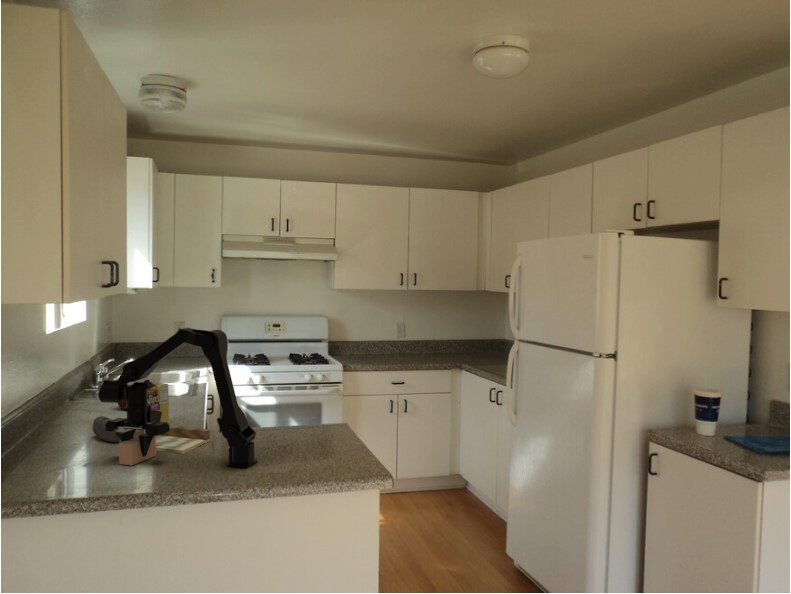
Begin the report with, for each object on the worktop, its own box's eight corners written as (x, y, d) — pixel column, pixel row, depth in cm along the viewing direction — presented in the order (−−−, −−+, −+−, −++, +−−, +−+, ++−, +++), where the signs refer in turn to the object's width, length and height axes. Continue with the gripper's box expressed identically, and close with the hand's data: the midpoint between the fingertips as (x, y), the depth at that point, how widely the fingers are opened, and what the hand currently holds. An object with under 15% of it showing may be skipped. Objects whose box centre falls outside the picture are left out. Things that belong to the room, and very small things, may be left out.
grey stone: (126, 442, 195) (126, 421, 195) (110, 446, 192) (109, 424, 191) (107, 434, 206) (107, 414, 205) (91, 437, 202) (91, 417, 201)
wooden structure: (209, 441, 197) (209, 429, 197) (182, 453, 184) (182, 440, 184) (154, 435, 204) (154, 424, 204) (124, 447, 190) (124, 434, 190)
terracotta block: (155, 455, 181) (155, 435, 180) (131, 465, 171) (131, 444, 171) (143, 453, 182) (143, 433, 182) (119, 463, 173) (118, 442, 172)
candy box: (143, 424, 219) (142, 382, 219) (153, 421, 223) (152, 381, 223) (159, 427, 215) (159, 385, 214) (169, 424, 219) (169, 383, 218)
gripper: (181, 399, 181) (181, 450, 181) (131, 395, 186) (131, 445, 187) (156, 407, 170) (156, 461, 171) (103, 403, 176) (104, 455, 176)
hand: (137, 455), depth 177 cm, fingers closed on terracotta block, 4 cm apart
